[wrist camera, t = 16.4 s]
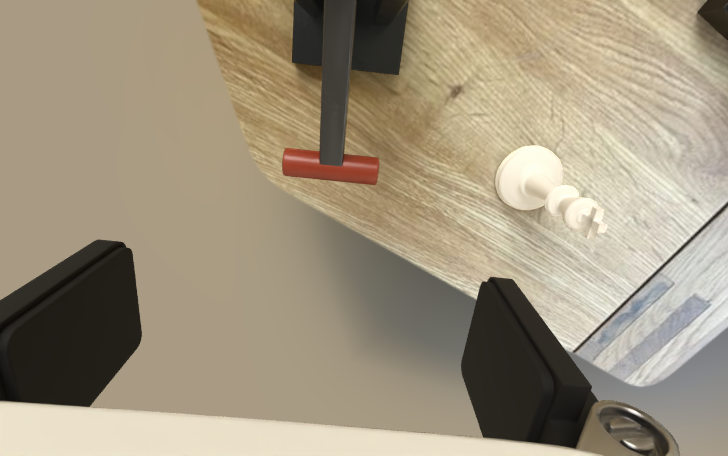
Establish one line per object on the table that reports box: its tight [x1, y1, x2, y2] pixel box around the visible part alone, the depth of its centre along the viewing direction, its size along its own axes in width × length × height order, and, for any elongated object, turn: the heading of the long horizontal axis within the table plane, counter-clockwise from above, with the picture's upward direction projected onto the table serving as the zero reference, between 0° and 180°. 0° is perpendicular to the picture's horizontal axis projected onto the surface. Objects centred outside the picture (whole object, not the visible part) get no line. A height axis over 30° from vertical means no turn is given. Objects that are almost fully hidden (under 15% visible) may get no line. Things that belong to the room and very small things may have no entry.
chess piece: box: [495, 145, 608, 239], centre depth 25 cm, size 5×5×10 cm
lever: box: [282, 0, 379, 185], centre depth 15 cm, size 12×4×2 cm, turn 174°
